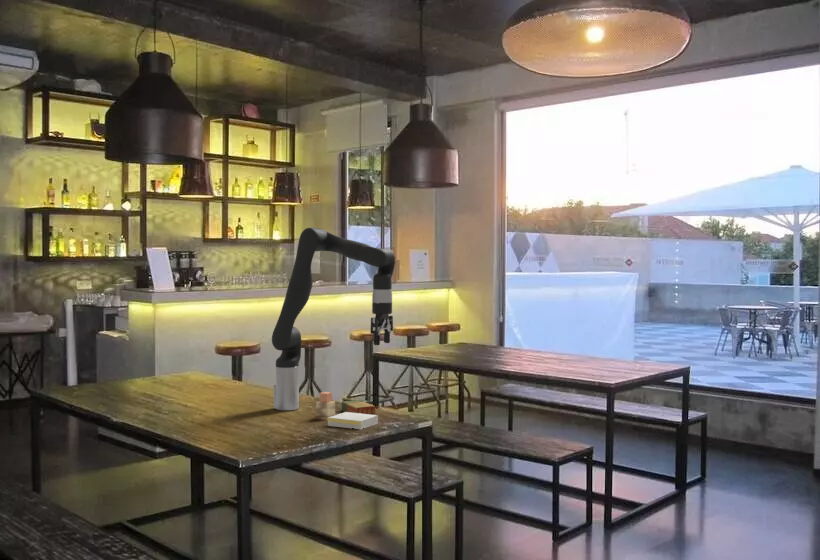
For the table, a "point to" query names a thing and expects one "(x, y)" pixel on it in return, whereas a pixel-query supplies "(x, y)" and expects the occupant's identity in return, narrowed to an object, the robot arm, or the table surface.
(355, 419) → the dock
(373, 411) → the carton
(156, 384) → the table surface
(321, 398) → the block
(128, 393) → the table surface
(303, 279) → the robot arm
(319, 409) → the wooden stepped block
